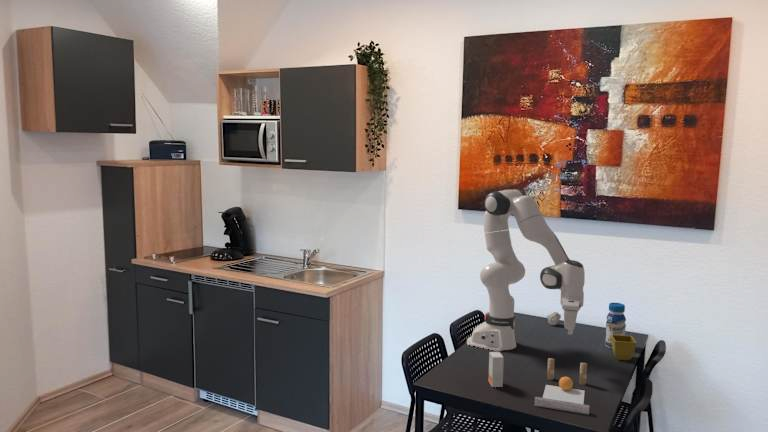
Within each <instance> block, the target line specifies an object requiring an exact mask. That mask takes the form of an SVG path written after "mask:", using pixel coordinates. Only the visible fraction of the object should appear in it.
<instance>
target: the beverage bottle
mask: <svg viewBox="0 0 768 432" xmlns="http://www.w3.org/2000/svg"><path fill="white" fill-rule="evenodd" d="M625 309H626V305H625V304H624V303H621V302H610V303H608V311H609V312H608V314H607V316H606V319H607V320H606V322H605V341H604V342H605V343H604V345H605V347H607V348H609V349H612V340H611V335H623V336H626V328H627V325H626V321H627V318H626V316H625V314H624V313H625Z"/></svg>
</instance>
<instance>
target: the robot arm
mask: <svg viewBox="0 0 768 432" xmlns="http://www.w3.org/2000/svg"><path fill="white" fill-rule="evenodd" d="M483 201H484V202H483V204H484V209H485V211H484V214H483V229H484V230H483V231H484V238H485V242H486V243H485V244H486V249H487V251H488V252H489V253H491V255H492V256H493V258H494V261H495V262H494V263H490V264H487V265H486V266H485V267H483V268H482V269H481V271H480V274H479V276H480V277H479V278H480V282H481V283H482V284H483V286H485V288H486V289H487V292H488V298H489V299H488V300H489V309H488V310H489V311H486V313H485V315H484V321H483V322H482V323H479V325H477V326H476V327H474V329H473V331H472V334H471V336H469V337H468V338H467V339H466V345H467V346H469V345H470V346H469V347H473V346H475V347H474V348H478V347H479V348H478V349H483V348H484V349H483V350H488V349H489V350H488V351H492V350H493V351H492V352H502V351H510V350H513V349H515V348H517V343H516V337H515V328H516V327H515V326H516V318H515V298H514V297H513V296H512V295H511V294H510V289H509V287H510V285H514V284H517V283H518V282H520V281H521V280H523V278H524V277H525V275H526V268H525V266H524V264H523V263H522V262H521V261H520V260H519V259H518V258H517V256H516V253H515V251H514V249H513V246H512V239H511V234H510V227H509V218H510V216H512V217H514V218H515V221H516V223H517V226H518V229H519V231H520V233H521V234H522V236H523V237H524V239H526V240H528V241H531V242H533V243H537V244H539V245H541V246H543V247H544V248H545V249H546V250H547V252H548V254H549V256H550V258H551V259H552V261H553V263H554V265H550V266H546V267H544V268H542V269H541V272H540V276H539V279H540V282H541V285H542V286H543V287H544V288H546V289H548V290H560V302H559V303H560V305H561V310H563V324H564V325H563V326H564V329H566V330H567V335H568V336H572V335H573V333H574V330H575V328H576V322H577V318H578V317H577V316H578V313H579V311H580V310H581V308H583V306H584V298H585V297H584V296H585V293H584V286H585V267H584V264H582V263H581V262H580V261H578V260H574V259H570V257H568V255H567V253H566V251H565V248H564V247H563V246H562V243H561V242H560V240H559V239H558V237H557V235H556V234H555V232H554V231H553V230H552V229H551V228H550V226H549V225H548V223H547V221H546V220H545V217H544V215H543V214H542V211H541V209H540V207H539V206H538V204H537V202H536V201H535V199H534V198H533V197H532V196H530V195H528V194H527V193H526V192H525V191H523V190H522V189H503V190H498V191H492V192H490V193H488V194H486V196H485V198H484V200H483Z"/></svg>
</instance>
